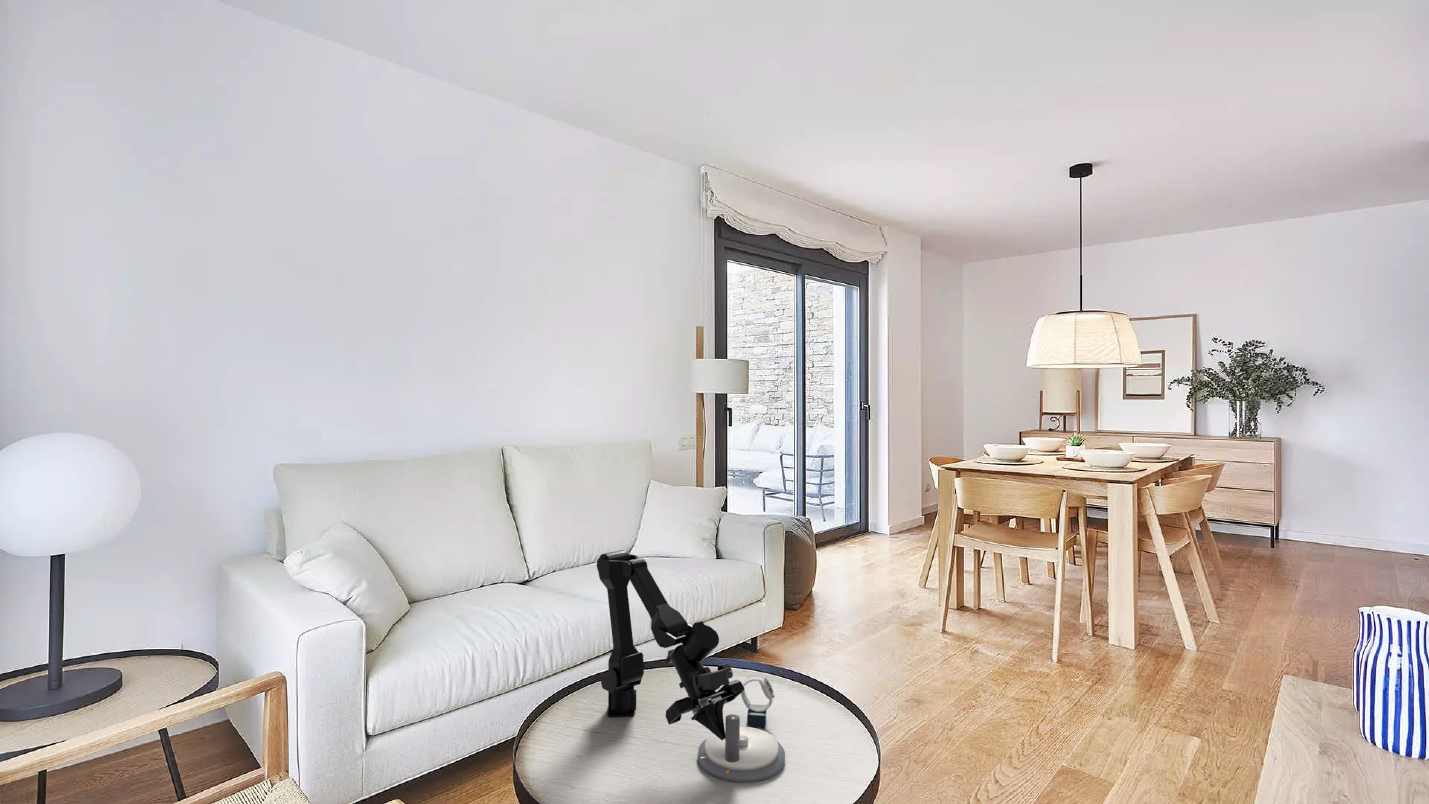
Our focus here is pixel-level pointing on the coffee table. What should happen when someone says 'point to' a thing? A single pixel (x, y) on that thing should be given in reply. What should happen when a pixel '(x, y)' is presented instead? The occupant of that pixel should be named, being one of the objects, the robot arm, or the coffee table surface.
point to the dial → (741, 747)
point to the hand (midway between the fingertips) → (723, 739)
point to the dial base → (741, 775)
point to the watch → (758, 712)
